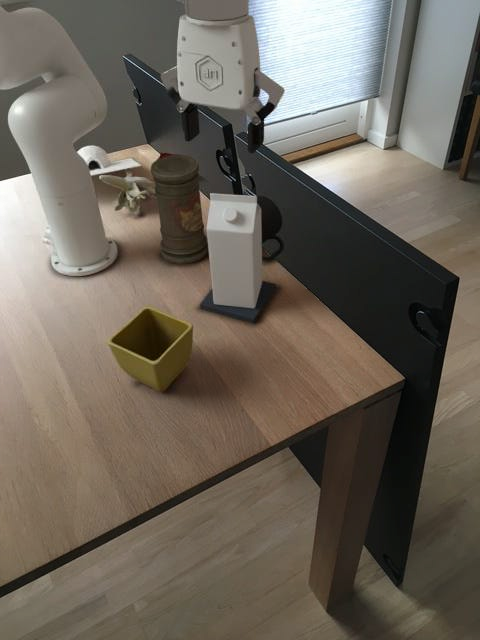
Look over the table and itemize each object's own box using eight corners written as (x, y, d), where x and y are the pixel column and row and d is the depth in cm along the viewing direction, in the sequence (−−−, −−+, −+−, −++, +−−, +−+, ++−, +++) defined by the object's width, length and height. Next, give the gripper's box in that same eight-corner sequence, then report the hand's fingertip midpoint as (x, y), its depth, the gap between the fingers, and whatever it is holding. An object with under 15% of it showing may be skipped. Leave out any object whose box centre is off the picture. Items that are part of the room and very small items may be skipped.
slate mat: (200, 308, 92) (199, 304, 91) (226, 275, 98) (225, 271, 98) (253, 323, 88) (253, 319, 88) (276, 288, 95) (276, 284, 94)
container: (154, 259, 103) (138, 172, 91) (175, 235, 109) (163, 150, 97) (196, 268, 100) (185, 180, 88) (215, 243, 106) (208, 157, 94)
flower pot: (164, 408, 76) (155, 364, 70) (117, 384, 80) (105, 341, 74) (200, 368, 81) (194, 324, 75) (155, 348, 85) (146, 304, 79)
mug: (284, 255, 108) (252, 280, 102) (243, 214, 109) (209, 235, 104) (302, 230, 101) (269, 255, 95) (258, 186, 103) (223, 208, 97)
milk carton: (223, 279, 96) (215, 182, 83) (262, 283, 95) (261, 185, 82) (213, 305, 91) (204, 205, 78) (255, 309, 90) (252, 209, 77)
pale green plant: (168, 225, 116) (101, 212, 108) (145, 207, 129) (82, 194, 121) (178, 186, 114) (110, 169, 106) (153, 171, 126) (90, 156, 118)
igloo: (48, 184, 114) (40, 158, 111) (50, 174, 131) (44, 152, 129) (141, 165, 118) (135, 141, 116) (131, 158, 136) (126, 137, 133)
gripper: (137, 5, 64) (155, 144, 75) (273, 18, 58) (270, 165, 70) (169, -9, 69) (182, 123, 80) (297, 2, 63) (290, 142, 75)
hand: (223, 143), depth 75 cm, fingers open, 9 cm apart
